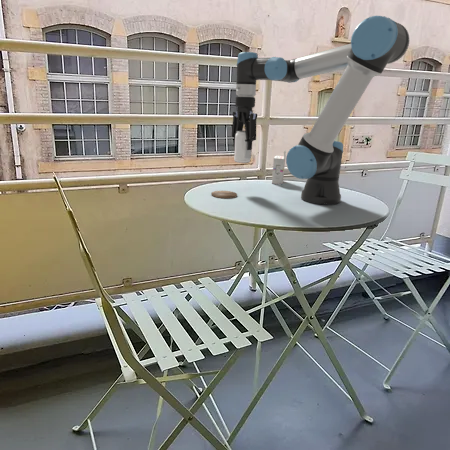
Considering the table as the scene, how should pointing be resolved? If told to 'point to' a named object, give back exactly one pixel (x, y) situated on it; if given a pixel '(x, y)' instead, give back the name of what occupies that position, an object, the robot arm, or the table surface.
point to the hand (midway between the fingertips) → (242, 156)
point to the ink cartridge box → (278, 169)
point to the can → (240, 147)
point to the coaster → (224, 194)
